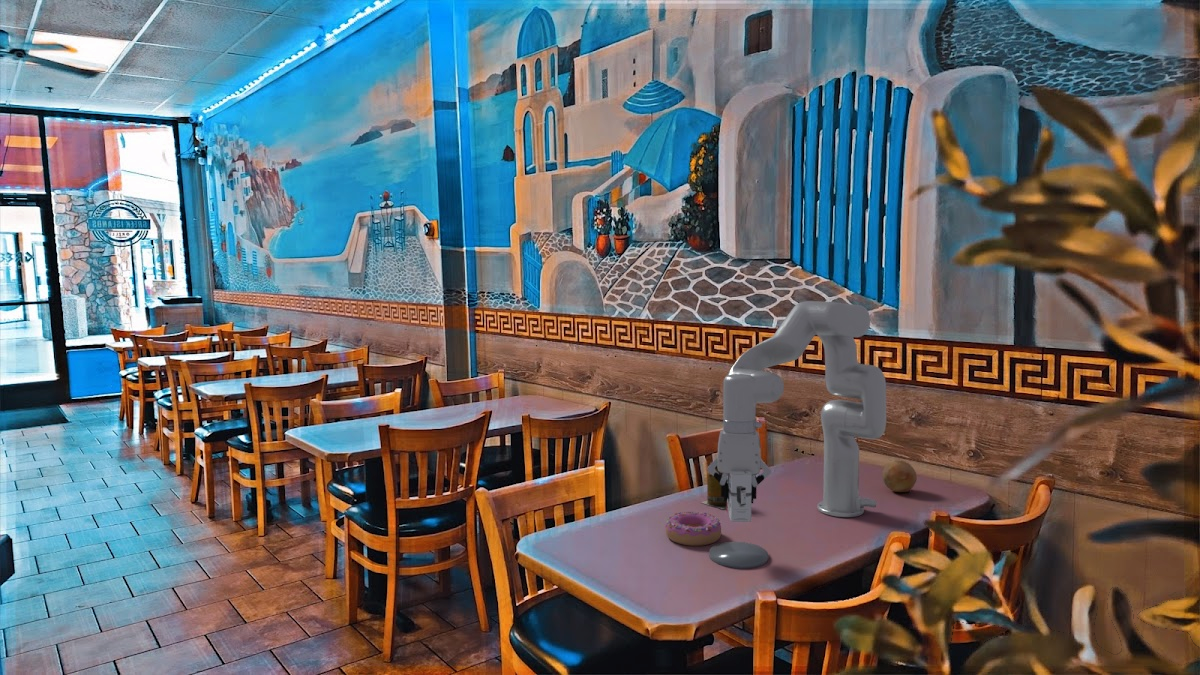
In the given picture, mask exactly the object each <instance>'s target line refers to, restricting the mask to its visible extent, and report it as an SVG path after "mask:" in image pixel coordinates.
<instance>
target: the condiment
mask: <svg viewBox="0 0 1200 675" xmlns="http://www.w3.org/2000/svg"><path fill="white" fill-rule="evenodd" d="M712 462H713V461H711V462H709V463H708V466H709V465H710V464H711V463H712ZM715 470H716V471H717V472H719V471H718V468H717V466H716V467H715ZM719 473H720V472H719ZM706 474H707V475H706V476H707V477H706V479H707V482H706V485H707V487H706V488H707V491H706V492H707V493H706V494H707V496H706V499H707V500H705V501H701V502H700V504H701V503H702V504H704V505H706V506H710V507H714V508H717V509H720V510H724V509H725V510H726V509H727V501H726V502H724V497H721V484H720V483H719V482H718V481H717V480H716V479H715V478H714V476H713V475H712V474H710V473H709V472H708V471H707V473H706ZM720 474H721V475H722V474H723V473H720ZM726 481H727V479H726Z"/></svg>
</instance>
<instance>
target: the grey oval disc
mask: <svg viewBox="0 0 1200 675" xmlns="http://www.w3.org/2000/svg"><path fill="white" fill-rule="evenodd" d="M708 552H709V554H708V556H709V559H710V560H711V561H713V563H716V564H717V565H720V566H723V567H727V568H731V569H754V568H757V567H761V566H763V565H765V564H767V562H768V561H769V553H768V550H766V549H765V548H763V547H762V546H760V545H757V544H754V543H752V542H751V543H749V542H743V541H727V542H725V541H724V542H719V543H716V544H714V545H712V546H711V547H710V548H709V551H708Z"/></svg>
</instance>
